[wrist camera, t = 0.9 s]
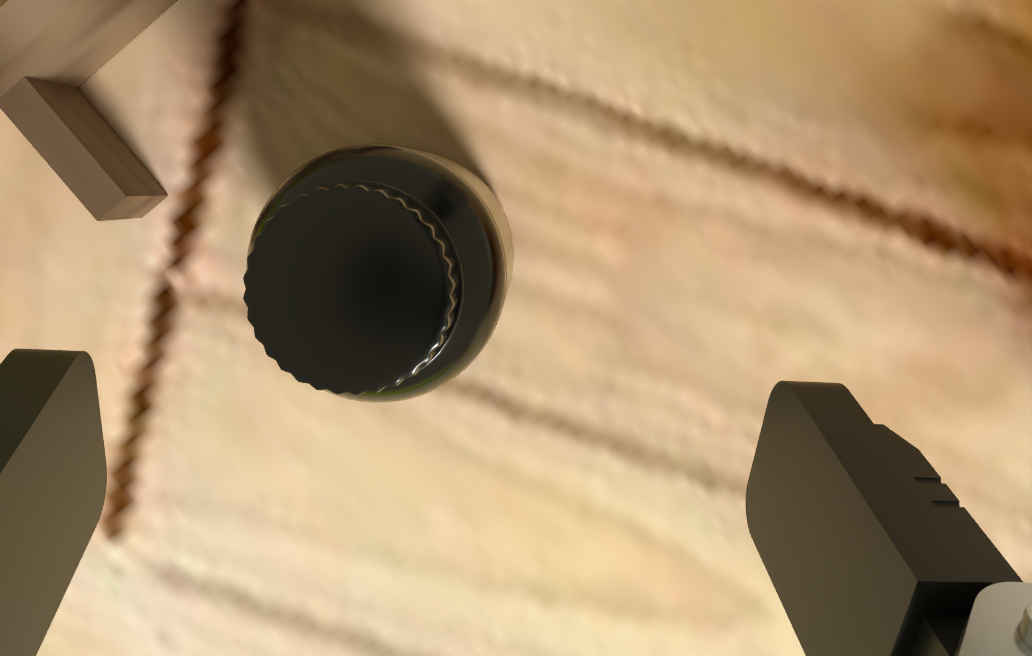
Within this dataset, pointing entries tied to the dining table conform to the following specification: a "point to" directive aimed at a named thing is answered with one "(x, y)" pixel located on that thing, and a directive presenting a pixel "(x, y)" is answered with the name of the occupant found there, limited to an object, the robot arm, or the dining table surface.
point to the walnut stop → (75, 95)
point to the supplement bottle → (378, 272)
